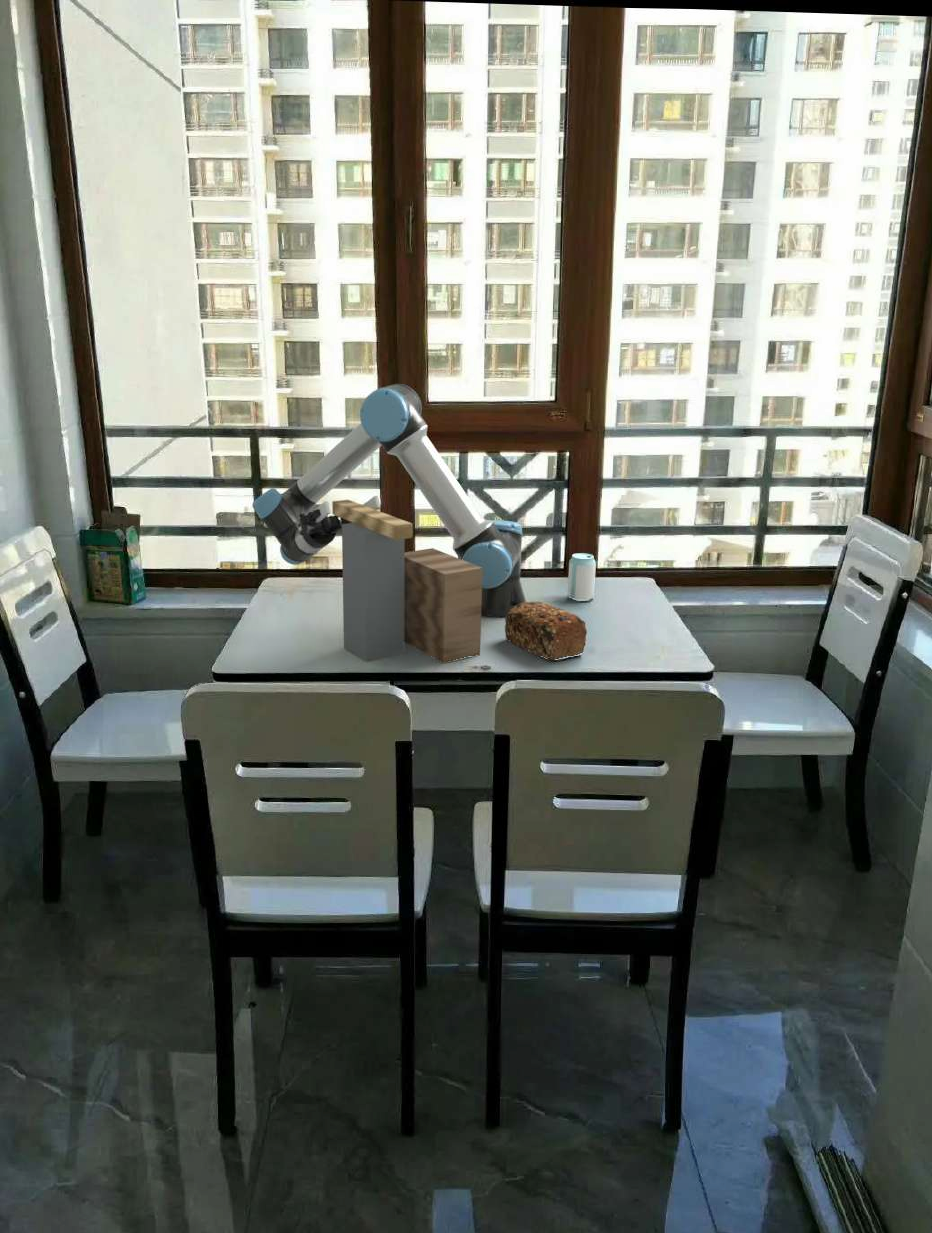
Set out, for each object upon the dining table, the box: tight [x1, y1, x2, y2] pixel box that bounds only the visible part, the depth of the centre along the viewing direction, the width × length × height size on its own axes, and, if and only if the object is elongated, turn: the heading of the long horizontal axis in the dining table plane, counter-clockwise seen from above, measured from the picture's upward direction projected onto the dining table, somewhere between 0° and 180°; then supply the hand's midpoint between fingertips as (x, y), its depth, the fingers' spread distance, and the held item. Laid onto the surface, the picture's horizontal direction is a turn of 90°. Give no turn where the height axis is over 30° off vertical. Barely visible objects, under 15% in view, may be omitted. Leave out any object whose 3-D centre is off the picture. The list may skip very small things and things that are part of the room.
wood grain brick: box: [404, 547, 483, 664], centre depth 228 cm, size 20×10×20 cm, turn 35°
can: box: [567, 552, 597, 599], centre depth 267 cm, size 7×7×12 cm
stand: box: [341, 523, 406, 662], centre depth 223 cm, size 10×10×29 cm
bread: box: [504, 601, 588, 661], centre depth 231 cm, size 19×11×10 cm, turn 32°
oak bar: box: [331, 499, 414, 540], centre depth 218 cm, size 28×4×3 cm, turn 35°
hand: (353, 504), depth 224 cm, fingers open, 12 cm apart
